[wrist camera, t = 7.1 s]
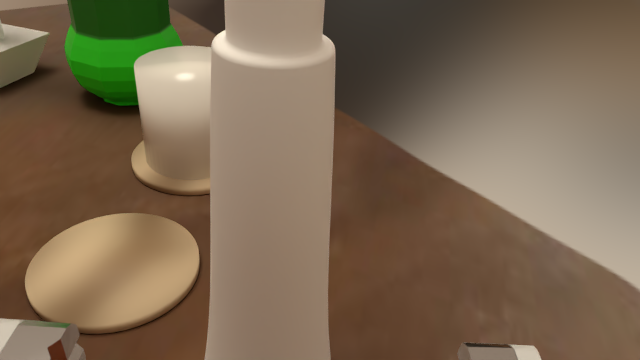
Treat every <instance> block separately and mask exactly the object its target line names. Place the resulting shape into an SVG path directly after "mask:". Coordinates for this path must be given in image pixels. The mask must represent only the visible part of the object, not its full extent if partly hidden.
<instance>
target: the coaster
mask: <svg viewBox="0 0 640 360" xmlns="http://www.w3.org/2000/svg"><path fill="white" fill-rule="evenodd" d="M131 160H132V168H133V172H134V174H135V176H136V177H137V179H138V180H139V181H140V182H142V183H143V184H144V185H146V186H148V187H150V188H152V189H154V190H157V191H160V192H164V193H168V194H174V195H204V194H210V178H207V179H199V180H182V179H174V178H170V177H166V176H163V175H161V174H159V173H157V172H155V171H154V170H152V169H151V168H150V167H149V165H148V164H147V161H146V155H145V147H144V141H142V142H141V143H140V144H139V145H138V146H137V147H136V148H135V150H134V151H133V154H132V158H131Z"/></svg>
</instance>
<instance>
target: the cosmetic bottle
mask: <svg viewBox="0 0 640 360" xmlns="http://www.w3.org/2000/svg"><path fill="white" fill-rule="evenodd" d="M324 2H325V0H225V28H226V29H225V31H223V32H221V33H219V34H218V35H217V36H216V37H215V38H214V39H213V42H212V49H211V99H210V215H211V273H210V308H209V325H208V337H207V345H206V354H205V360H331V356H330V345H329V330H328V265H329V235H330V211H331V187H332V164H333V135H334V97H335V96H334V95H335V46H334V44H333V43H332V41H331V40H330V39H329V38H328V37H326V36H325V35H323V34H322V32H323V17H324Z"/></svg>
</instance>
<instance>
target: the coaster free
mask: <svg viewBox="0 0 640 360" xmlns="http://www.w3.org/2000/svg"><path fill="white" fill-rule="evenodd" d="M199 268H200V260H199V251H198V246H197V244H196V241H195V239H194V238H193V236H192V235H191V234H190V233H189V232H188V231H187V230H186V229H185V228H184V227H182V226H181V225H179V224H178V223H176V222H174V221H172V220H169V219H167V218H163V217H160V216H156V215H150V214H142V213H123V214H114V215H107V216H103V217H98V218H95V219H91V220H88V221H85V222H82V223H80V224H77V225H75V226H73V227H71V228H69V229H67V230H65V231H63V232H62V233H60V234H58V235H57V236H55V237H54V238H52V239H51V240H50V241H49V242H48V243H46V244H45V245H44V246H43V247H42V248H41V249H40V250H39V251H38V253H37V254H36V255H35V256H34V258H33V259H32V261H31V263H30V265H29V267H28V269H27V272H26V277H25V288H26V292H27V295H28V298H29V301H30V304H31V306H32V308H33V310H34V311H35V312H36V313H37V314H38V316H39V317H41V318H42V319H43V320H44V321H46V322H58V323H71V324H76V325H77V328H78V331H79V333H84V334H103V333H113V332H118V331H123V330H127V329H131V328H134V327H138V326H140V325H143V324H145V323H148V322H150V321H152V320H154V319H156V318H158V317H160V316H162V315H163V314H165V313H166V312H168V311H170V310H171V309H172V308H173V307H175V306H176V305H177V304H179V303H180V302H181V301H182V300H183V299H184V298H185V297H186V295H187V294H188V293H189V291H190V290H191V289H192V287H193V285H194V283H195V282H196V279H197V276H198V273H199Z"/></svg>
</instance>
